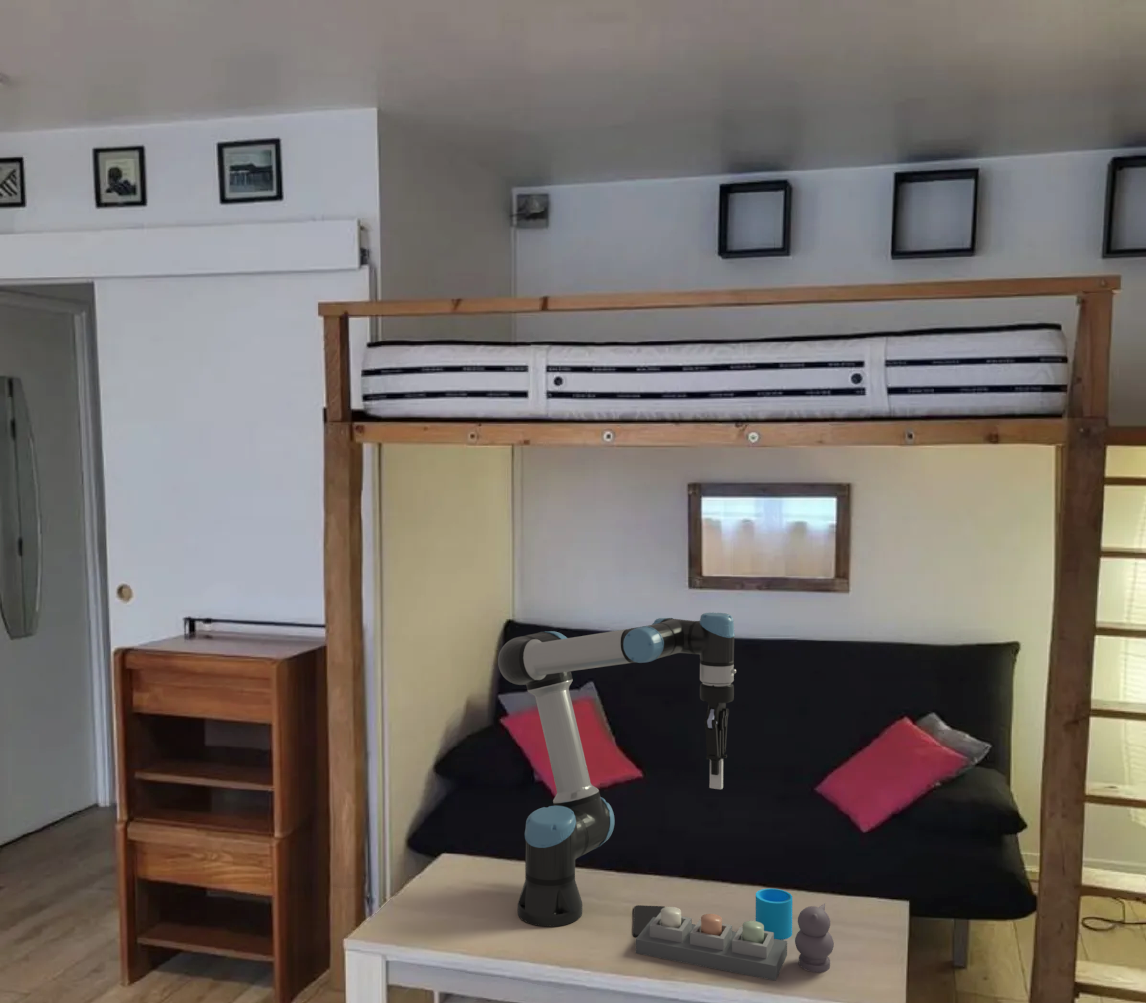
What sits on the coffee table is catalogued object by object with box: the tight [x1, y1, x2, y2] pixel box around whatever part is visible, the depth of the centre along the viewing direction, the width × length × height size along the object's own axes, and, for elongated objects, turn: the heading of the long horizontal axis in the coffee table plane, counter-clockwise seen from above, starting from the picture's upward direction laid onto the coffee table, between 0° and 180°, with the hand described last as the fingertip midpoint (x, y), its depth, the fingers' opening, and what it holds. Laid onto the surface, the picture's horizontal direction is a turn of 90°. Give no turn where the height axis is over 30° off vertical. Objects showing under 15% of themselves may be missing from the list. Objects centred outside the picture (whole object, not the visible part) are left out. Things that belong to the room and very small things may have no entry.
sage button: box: [742, 920, 764, 944], centre depth 210 cm, size 4×4×4 cm
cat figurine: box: [794, 903, 835, 973], centre depth 209 cm, size 9×8×12 cm
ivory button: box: [661, 906, 682, 929], centre depth 217 cm, size 4×4×4 cm
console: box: [635, 912, 788, 981], centre depth 214 cm, size 30×12×5 cm, turn 67°
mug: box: [755, 888, 793, 940], centre depth 226 cm, size 12×8×8 cm
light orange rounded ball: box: [700, 913, 723, 936], centre depth 214 cm, size 4×4×4 cm
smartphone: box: [632, 904, 665, 938], centre depth 229 cm, size 8×1×16 cm
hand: (716, 787), depth 224 cm, fingers closed
